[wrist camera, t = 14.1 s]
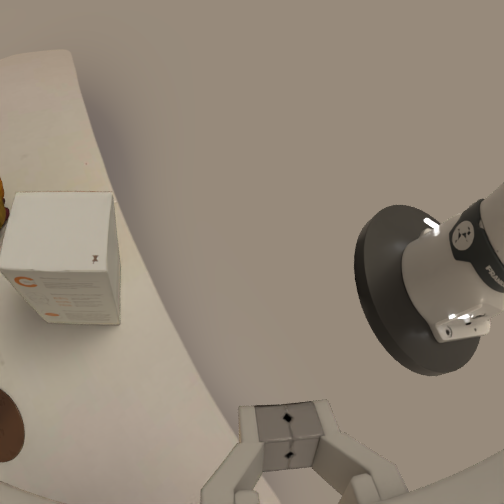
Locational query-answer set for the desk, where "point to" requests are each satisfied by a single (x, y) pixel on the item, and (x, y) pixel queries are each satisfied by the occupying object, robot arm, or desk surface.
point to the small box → (64, 255)
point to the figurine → (0, 211)
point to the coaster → (10, 429)
